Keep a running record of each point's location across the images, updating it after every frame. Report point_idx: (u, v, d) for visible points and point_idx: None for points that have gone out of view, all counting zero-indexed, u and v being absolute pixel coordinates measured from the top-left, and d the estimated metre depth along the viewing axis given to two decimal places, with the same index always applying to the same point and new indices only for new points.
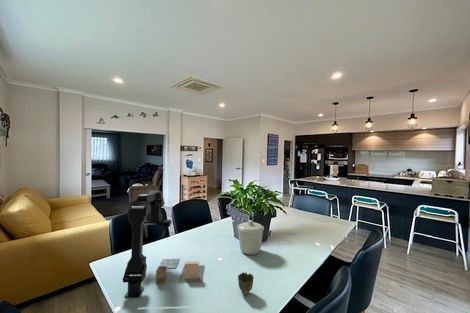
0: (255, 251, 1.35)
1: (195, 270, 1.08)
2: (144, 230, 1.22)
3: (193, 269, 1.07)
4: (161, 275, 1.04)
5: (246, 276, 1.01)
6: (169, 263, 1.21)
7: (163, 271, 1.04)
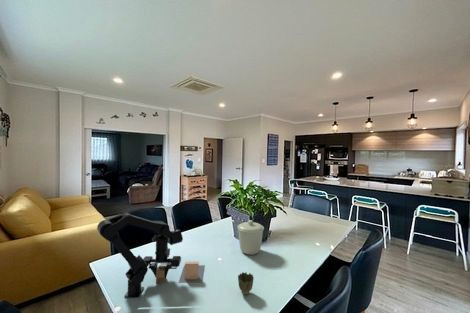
0: (255, 251, 1.35)
1: (195, 270, 1.08)
2: (154, 270, 1.03)
3: (193, 269, 1.07)
4: (160, 275, 1.04)
5: (246, 276, 1.01)
6: None
7: (163, 271, 1.04)
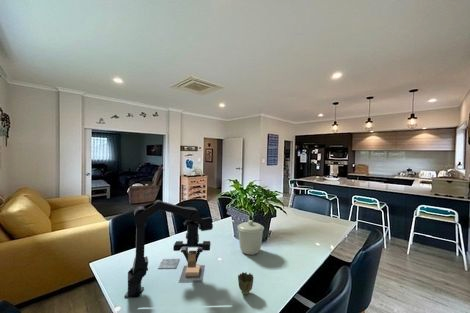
0: (255, 251, 1.35)
1: (196, 267, 1.14)
2: (186, 254, 1.07)
3: None
4: (192, 258, 1.07)
5: (246, 276, 1.01)
6: (169, 263, 1.21)
7: (194, 255, 1.08)
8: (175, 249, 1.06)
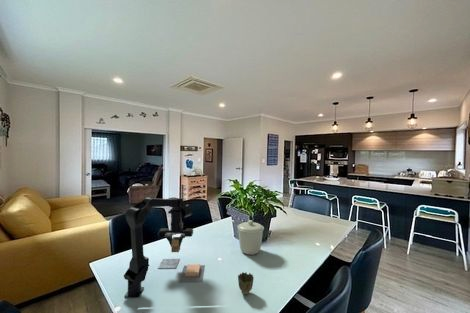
0: (255, 251, 1.35)
1: (196, 267, 1.14)
2: (170, 240, 1.16)
3: (195, 267, 1.15)
4: (175, 244, 1.16)
5: (246, 276, 1.01)
6: (169, 263, 1.21)
7: (178, 240, 1.16)
8: (159, 235, 1.15)
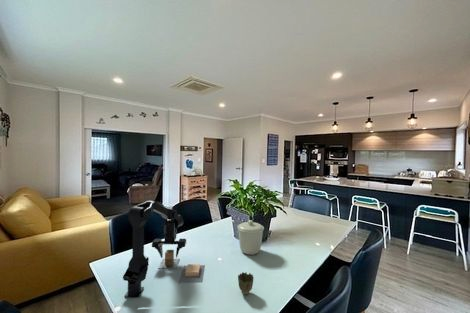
0: (255, 251, 1.35)
1: (196, 267, 1.14)
2: (159, 250, 1.19)
3: (195, 267, 1.15)
4: (169, 257, 1.20)
5: (246, 276, 1.01)
6: None
7: (171, 253, 1.20)
8: (153, 246, 1.18)
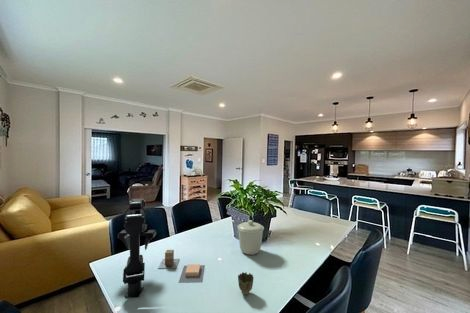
0: (255, 251, 1.35)
1: (196, 267, 1.14)
2: (125, 242, 1.12)
3: (195, 267, 1.15)
4: (169, 257, 1.20)
5: (246, 276, 1.01)
6: None
7: (171, 253, 1.20)
8: (119, 237, 1.11)
